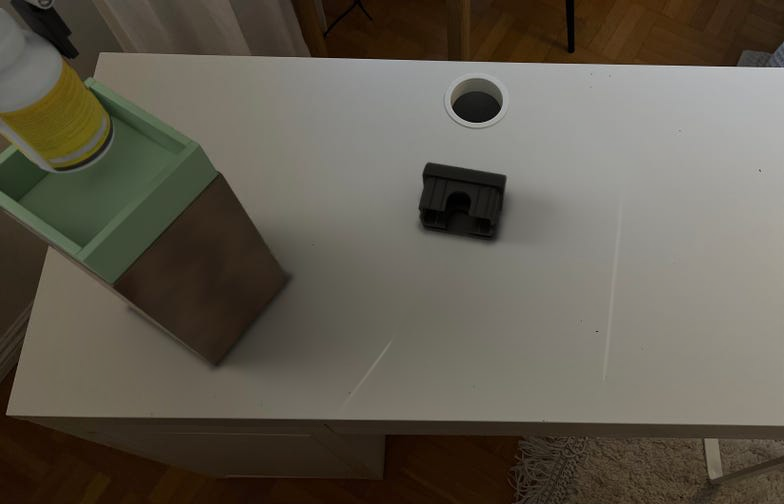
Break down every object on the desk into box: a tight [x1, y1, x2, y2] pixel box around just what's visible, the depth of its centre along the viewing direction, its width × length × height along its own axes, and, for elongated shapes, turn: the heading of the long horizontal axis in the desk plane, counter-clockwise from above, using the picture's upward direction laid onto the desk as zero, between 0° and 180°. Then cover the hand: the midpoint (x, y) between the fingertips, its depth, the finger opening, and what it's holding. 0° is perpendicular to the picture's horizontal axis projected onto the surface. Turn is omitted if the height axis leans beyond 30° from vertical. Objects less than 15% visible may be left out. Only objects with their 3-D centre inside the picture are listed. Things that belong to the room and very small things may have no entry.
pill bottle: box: [0, 6, 115, 173], centre depth 45 cm, size 6×6×12 cm
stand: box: [2, 170, 289, 367], centre depth 67 cm, size 13×13×24 cm
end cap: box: [417, 161, 508, 241], centre depth 81 cm, size 10×7×7 cm
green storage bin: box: [0, 76, 218, 284], centre depth 54 cm, size 13×13×5 cm
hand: (18, 81), depth 44 cm, fingers closed on pill bottle, 6 cm apart
